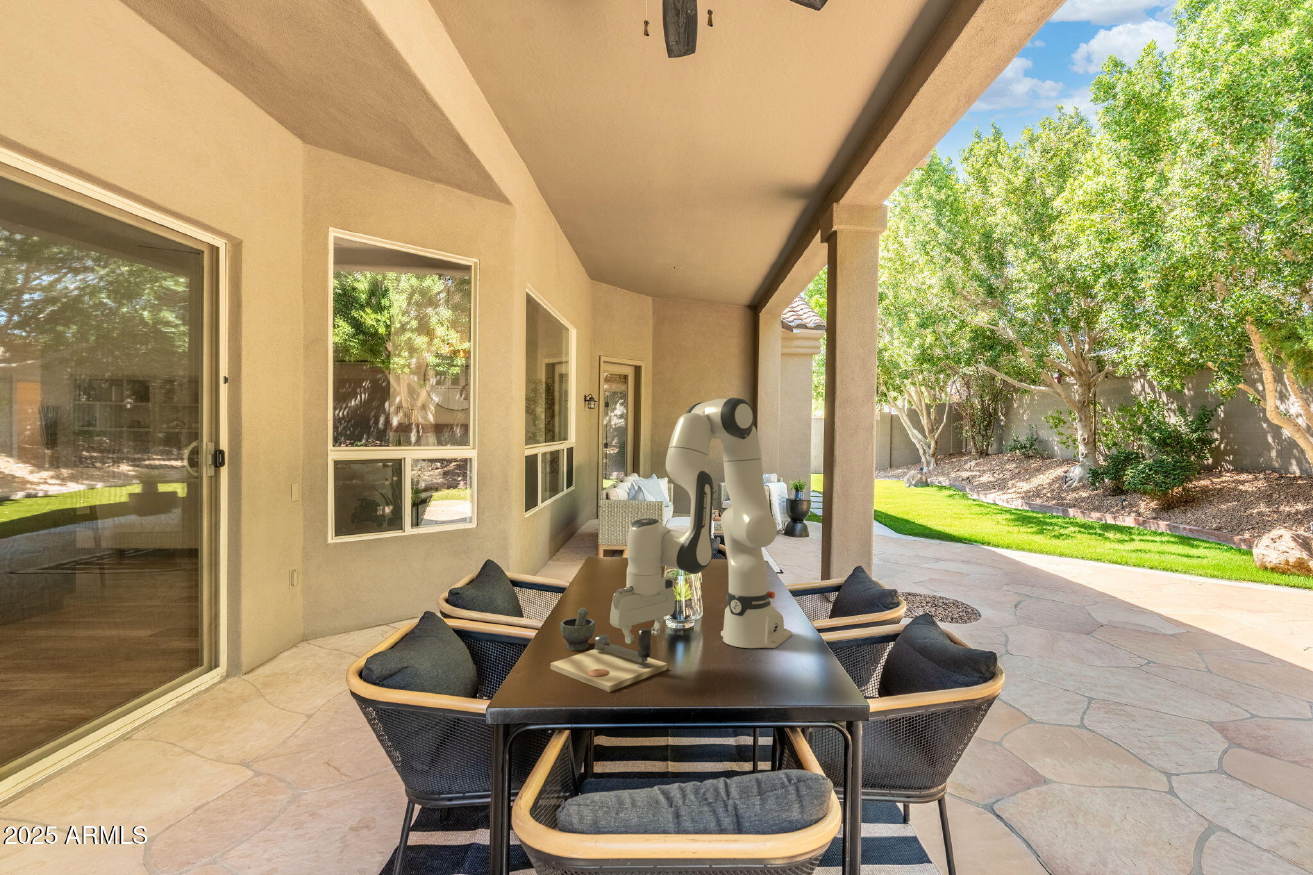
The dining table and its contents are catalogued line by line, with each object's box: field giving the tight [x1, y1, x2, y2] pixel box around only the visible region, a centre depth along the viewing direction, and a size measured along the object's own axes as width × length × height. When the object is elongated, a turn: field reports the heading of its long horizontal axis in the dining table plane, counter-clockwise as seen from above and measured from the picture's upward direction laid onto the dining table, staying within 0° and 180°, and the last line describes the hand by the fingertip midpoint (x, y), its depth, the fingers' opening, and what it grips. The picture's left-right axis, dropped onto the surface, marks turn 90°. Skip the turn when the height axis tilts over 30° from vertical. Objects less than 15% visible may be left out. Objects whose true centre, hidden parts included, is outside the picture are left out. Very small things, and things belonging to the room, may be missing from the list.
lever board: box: [549, 648, 668, 693], centre depth 162 cm, size 20×22×2 cm
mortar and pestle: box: [559, 607, 596, 651], centre depth 179 cm, size 11×9×12 cm
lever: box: [594, 627, 652, 663], centre depth 166 cm, size 4×20×8 cm, turn 47°
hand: (642, 638), depth 160 cm, fingers open, 8 cm apart
